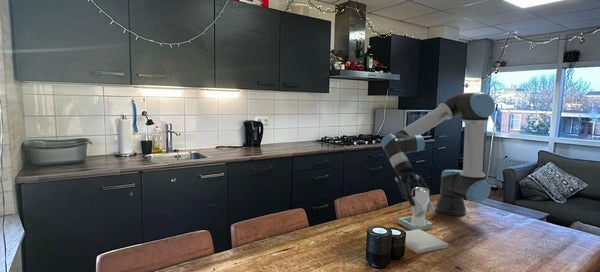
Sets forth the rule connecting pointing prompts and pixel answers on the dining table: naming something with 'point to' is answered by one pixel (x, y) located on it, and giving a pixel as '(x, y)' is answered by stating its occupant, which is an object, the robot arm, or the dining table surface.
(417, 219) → the beer glass
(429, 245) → the tile board
